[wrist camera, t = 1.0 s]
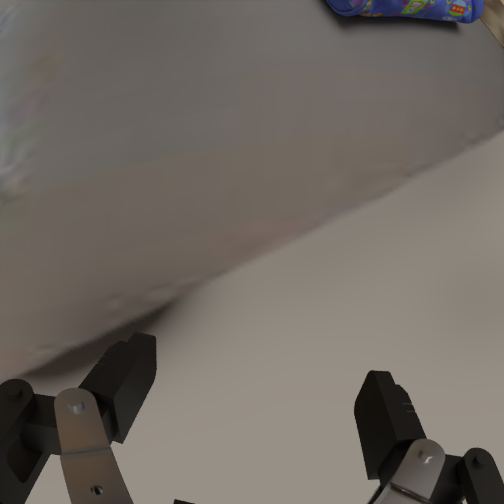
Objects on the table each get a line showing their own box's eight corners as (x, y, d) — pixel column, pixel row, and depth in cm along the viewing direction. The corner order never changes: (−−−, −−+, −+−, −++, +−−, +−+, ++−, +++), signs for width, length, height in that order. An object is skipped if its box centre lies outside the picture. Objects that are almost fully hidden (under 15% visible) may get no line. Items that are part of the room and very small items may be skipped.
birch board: (421, -42, 26) (438, -61, 20) (428, -44, 26) (445, -62, 20) (521, 74, 29) (546, 65, 23) (525, 67, 29) (548, 58, 23)
